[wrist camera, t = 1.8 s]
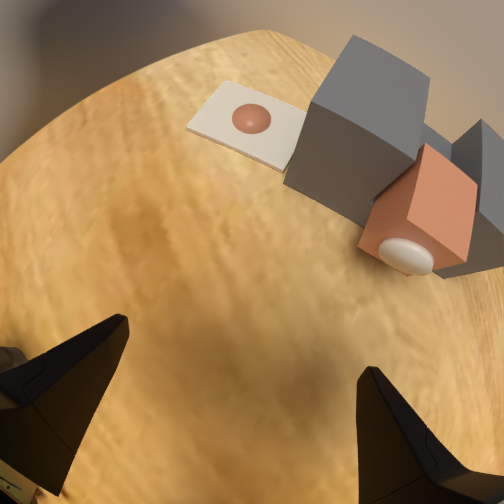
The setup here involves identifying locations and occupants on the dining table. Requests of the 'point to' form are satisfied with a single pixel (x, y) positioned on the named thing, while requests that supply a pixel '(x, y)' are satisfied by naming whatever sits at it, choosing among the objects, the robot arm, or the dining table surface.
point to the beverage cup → (10, 358)
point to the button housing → (391, 147)
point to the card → (250, 124)
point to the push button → (423, 217)
